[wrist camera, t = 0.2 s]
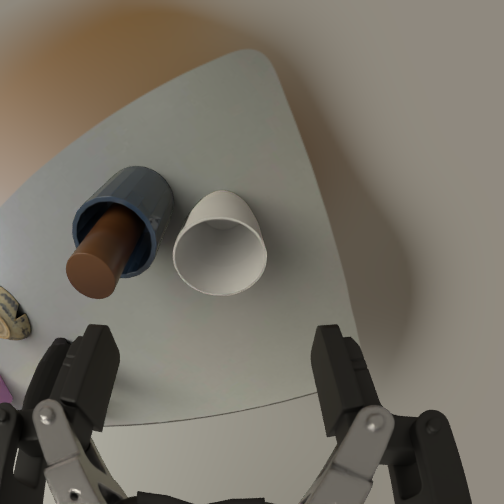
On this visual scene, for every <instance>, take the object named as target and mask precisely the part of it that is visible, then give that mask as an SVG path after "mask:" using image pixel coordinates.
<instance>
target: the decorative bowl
mask: <svg viewBox="0 0 504 504" xmlns="http://www.w3.org/2000/svg"><path fill="white" fill-rule="evenodd" d="M18 306H19V304H18V303H17V301H16V300H15V299H14V297H13V296H11V294H9V293H8V292H7V291H6V290H5V289H3V288H2V287H0V338H3V339H9V340H21V339H25V338H27V337H28V336H29V335H30V332H31V330H30V325H29V323H28V318H27V316H26V314H24V315H22V316H21V317H19V318H17V319H16V313H17V309H18Z"/></svg>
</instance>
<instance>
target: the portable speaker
mask: <svg viewBox="0 0 504 504" xmlns="http://www.w3.org/2000/svg"><path fill="white" fill-rule="evenodd" d="M69 347H70V345H69V344H68V343H67V342H66V339H63V338H58V339H55V341H54V342H53V343H52V345H51V346H50V347H49V348H48V350H47V352H46V353H45V355H44V356H43V358H42V359H41V361H40V362H39V364H38V366H37V368H36V371H35V373H34V375H33V378H32V380H31V383H30V385H29V387H28V390H27V392H26V395H25V398H24V403H23V408H22V410H27V409H35V407H36V405H37V404H38V403H40V402H41V401H43V400H46V399H49V397H50V395H51V392H52V389H53V387H54V384H55V381H56V379H57V376H58V374H59V371H60V369H61V366H63V361H64V359H65V358H66V354H67V352H68V350H69Z"/></svg>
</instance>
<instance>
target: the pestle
mask: <svg viewBox="0 0 504 504" xmlns="http://www.w3.org/2000/svg"><path fill="white" fill-rule="evenodd" d="M145 227H146V225H145V223H144V221H143V220H142V219H141V218H140V217H139V216H138V215H137V214H136V213H135V212H134V211H133V210H131V209H129V208H128V207H126V206H125V205H123V204H119V203H115V202H113V203H112V205H111V206H110V207H109V208H108V209H107V211H106V212H105V213H104V214H103V215H102V217H101V218H100V219H99V220H98V222H97V223H96V224H95V225H94V227H93V228H92V229H91V230H90V232H89V233H88V234H87V236H86V237H85V238H84V239H83V241H82V242H81V243H80V245H79V246H78V247H77V249H76V250H75V251H74V253H73V254H72V256H71V257H70V258H69V260H68V262H67V265H66V273H67V277H68V279H69V281H70V283H71V284H72V285H73V287H74V288H75V289H76V290H77V291H79V292H80V293H82V294H83V295H85V296H87V297H90V298H94V299H103V298H106V297H108V296H110V295H111V294H112V293H113V291H114V289H115V287H116V285H117V283H118V281H119V279H120V276H121V274H122V272H123V270H124V268H125V266H126V264H127V262H128V260H129V258H130V256H131V254H132V252H133V250H134V248H135V246H136V244H137V242H138V240H139V238H140V236H141V234H142V232H143V230H144V228H145Z"/></svg>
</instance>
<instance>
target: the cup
mask: <svg viewBox="0 0 504 504" xmlns="http://www.w3.org/2000/svg"><path fill="white" fill-rule="evenodd" d="M173 262H174V266H175V269H176V271H177V273H178V274H179V276H180V277H181V278H182V280H183V281H184V282H185V283H186V284H188V285H189V286H190V287H192V288H193V289H195V290H197V291H199V292H202V293H205V294H209V295H216V296H226V295H232V294H236V293H239V292H242V291H244V290H246V289H248V288H249V287H251V286H252V285H253V284H255V283H256V282H257V281H258V279H259V278H260V277H261V275H262V274H263V272H264V270H265V267H266V262H267V252H266V247H265V244H264V241H263V237H262V234H261V231H260V227H259V224H258V222H257V220H256V218H255V216H254V214H253V213H252V211H251V209H250V208H249V206H248V204H247V203H246V202H245V201H244V200H243V199H242V198H240V197H239V196H237V195H236V194H235V193H233V192H230V191H226V190H219V191H215V192H213V193H211V194H209V195H207V196H205V197H204V198H202V199H201V200H200V201H199V202H198V203H197V204H196V206H195V207H194V208H193V209H192V211H191V212H190V213H189V215H188V216H187V218H186V219H185V222H184V224H183V226H182V228H181V231H180V233H179V235H178V237H177V240H176V242H175V245H174V248H173Z"/></svg>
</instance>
